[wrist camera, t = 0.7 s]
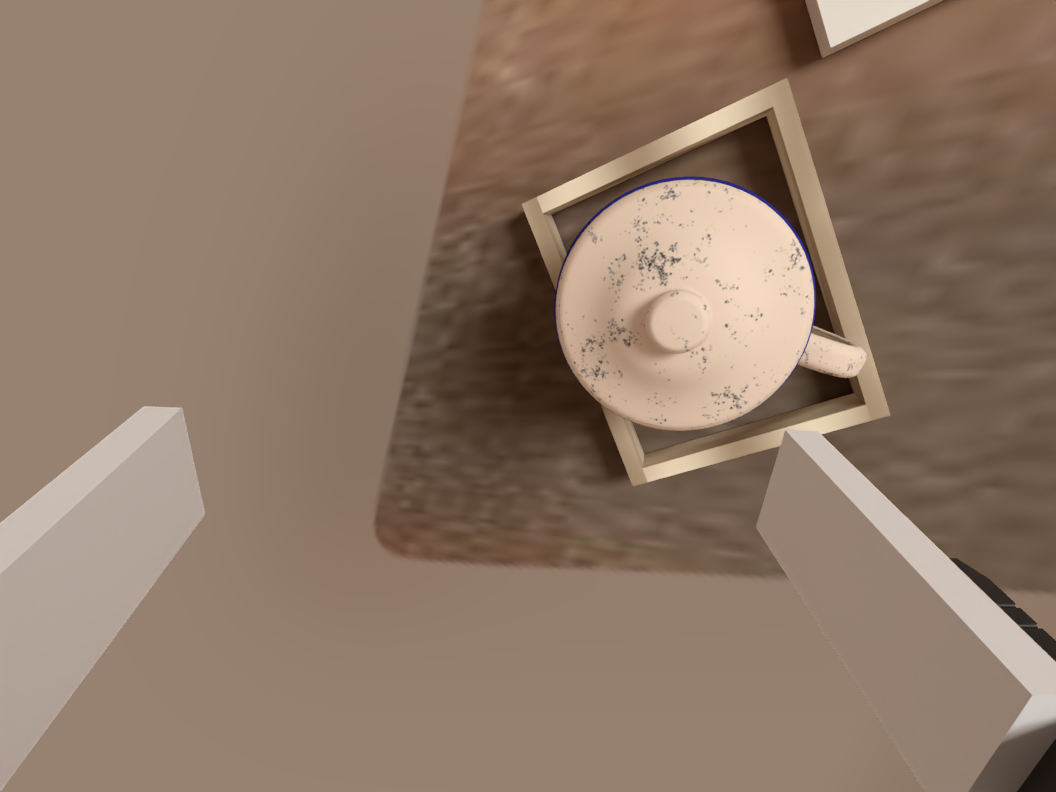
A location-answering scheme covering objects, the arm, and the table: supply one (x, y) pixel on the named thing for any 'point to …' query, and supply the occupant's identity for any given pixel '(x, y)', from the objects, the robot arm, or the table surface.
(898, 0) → the ceramic board
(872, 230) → the table surface
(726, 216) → the teacup with lid
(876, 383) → the cup holder
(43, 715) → the robot arm
